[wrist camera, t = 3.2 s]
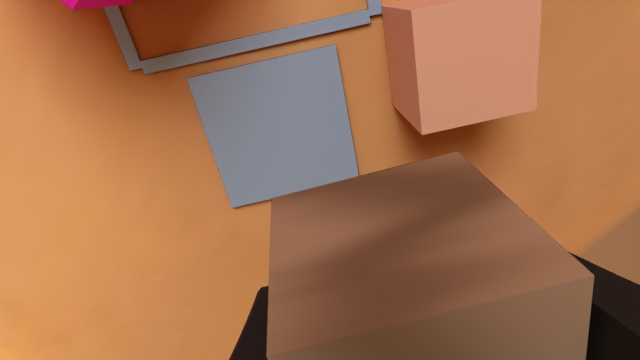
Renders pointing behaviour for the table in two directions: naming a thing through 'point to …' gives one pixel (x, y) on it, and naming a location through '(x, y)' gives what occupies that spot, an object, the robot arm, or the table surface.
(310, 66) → the frame
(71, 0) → the toy block
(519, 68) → the terracotta block
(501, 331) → the walnut cube
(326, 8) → the table surface
